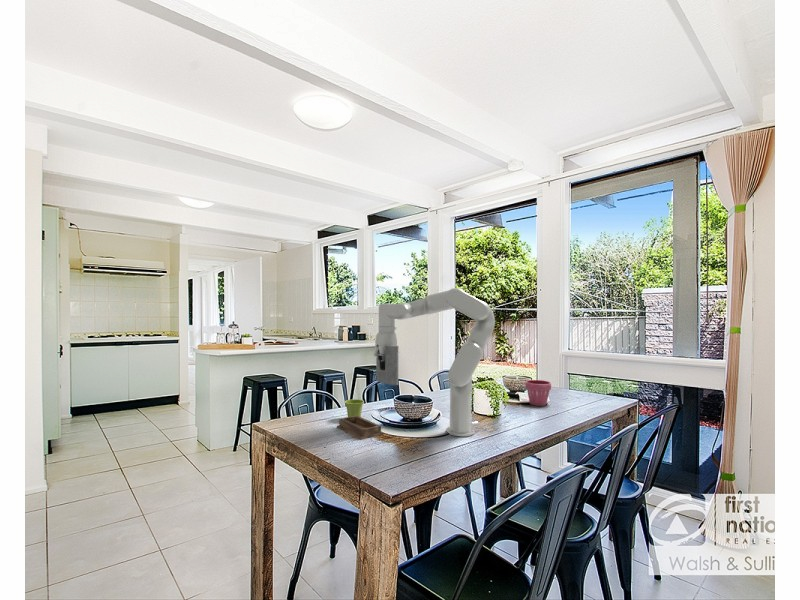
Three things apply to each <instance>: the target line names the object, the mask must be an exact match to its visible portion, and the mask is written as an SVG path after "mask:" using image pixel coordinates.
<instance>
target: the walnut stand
mask: <svg viewBox="0 0 800 600" xmlns="http://www.w3.org/2000/svg"><path fill="white" fill-rule="evenodd" d="M338 419H339V421H338V424H339V425H336V428H337V429H338V430H340V431H342V432H344V433H346V434H348V435H349V436H352V437H354V438H355V439H357V440H365V439H369V438H375V437H379V436H384V432H383V431H382V425H380V424H377V423H375V422H373V421H370V420H369V419H366V418H364V417H362V416H361V417H359V416H352V417H348V416H346V417H342V418H338Z"/></svg>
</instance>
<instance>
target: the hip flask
mask: <svg viewBox="0 0 800 600" xmlns="http://www.w3.org/2000/svg"><path fill="white" fill-rule="evenodd" d="M398 351H399V345H397V346H394V345H388V346H386V354H385V357H384V361H385V370H381V369H380V361H379V360H378V358H377V357H375V358H376V359H375V364H376V365H375V366H376V368H375V370H376V372H375V375H376V377H375V380H376V381H377V382H379V383H382V384H385V385H390V386H398V385H399V354H398ZM378 355H379V354H378Z"/></svg>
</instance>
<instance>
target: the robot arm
mask: <svg viewBox="0 0 800 600" xmlns="http://www.w3.org/2000/svg"><path fill="white" fill-rule="evenodd" d="M452 309H454V310H456V311H457V312H459V313H461V314H463V315H465V316H467V317H468V318H471V319H472V320H474V321H475V322H474V326H473V328H472V329H471V332H470V334H468V335H469V336H468V338H467V340H466V341H465V342H464V343H463V345H461V347H460V349H459V351H458V352H457V354H456V356H455V359H454V360H453V362H452V364H451V366H450V368H449V370H448V372H447V379H448V381H449V383H450V384H449V385H450V387H449V391H450V393H449V426H448V427H446V428H445V432H446V431H447V432H448V433H449V434H448V433H447V432H446V433H447V434H448V435H450V436H455V437H470V436H473V435H474V434H475V429H474V427H476V426H478V425H479V422H478V421H477V420H475V421H472V392H473V391H472V389H473V387H472V386H473V375H474V373H475V371H476V369H477V367H478V365H479V363H480V361H481V359H482V356H483V354H484V352H485V349H486V346H487V345H488V343H489V341H490V338H491V337H492V334H493V333H494V330H495V326H496V319H495V314H494V312H493V309H492V307H490V305H489V304H488V303H487V302H485V301H483V300H480V299H478V298H476V297H475V296H473V295H472V294H471V295H470V294H469V293H467V292H465V291H464V290H463V289H461V288H459V287H458V288H457V287H453V288H451V289H449V290H445V291H444V290H443V291H441V292H437V293H433V294H428V295H427V296H425V297H423V298H420V299H417V300H413V301H408V302H400V303H380V304H379V305H378V332H377V333H376V336H375V342H374V353H373V357H375V358H376V357H377V358H378V360H379V361H380V369H381V370H385V361H384V357H385V354H386V346H388V345H394V346H398V340H397V339H398V338H397V333H396V330H397V327H396V323H395V321H396V320H400V321H401V320H406V319H407V320H408V319H411V318H415V317H419V316H424V315H431V314H437V313H440V312H445V311H448V310H452ZM378 354H379V355H378ZM398 355H400V352H399V350H398Z"/></svg>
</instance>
